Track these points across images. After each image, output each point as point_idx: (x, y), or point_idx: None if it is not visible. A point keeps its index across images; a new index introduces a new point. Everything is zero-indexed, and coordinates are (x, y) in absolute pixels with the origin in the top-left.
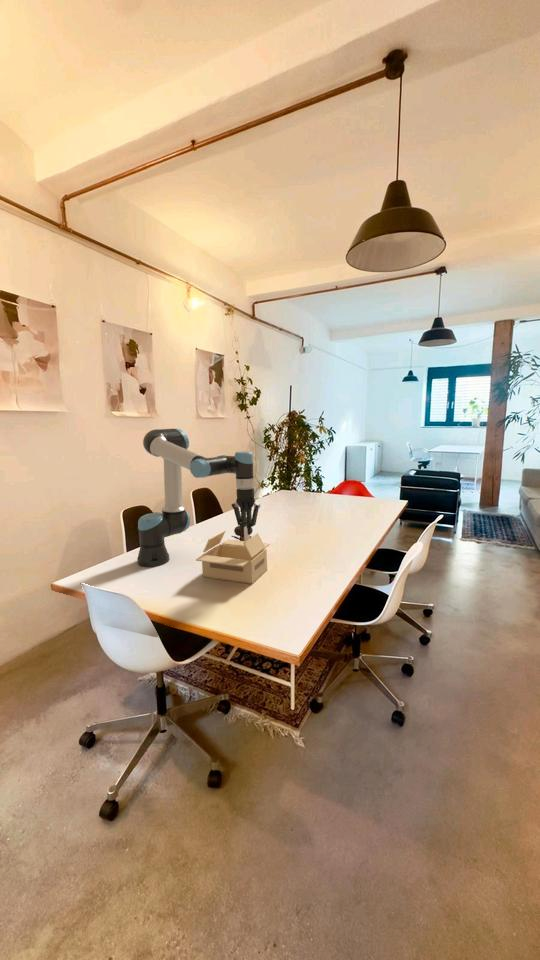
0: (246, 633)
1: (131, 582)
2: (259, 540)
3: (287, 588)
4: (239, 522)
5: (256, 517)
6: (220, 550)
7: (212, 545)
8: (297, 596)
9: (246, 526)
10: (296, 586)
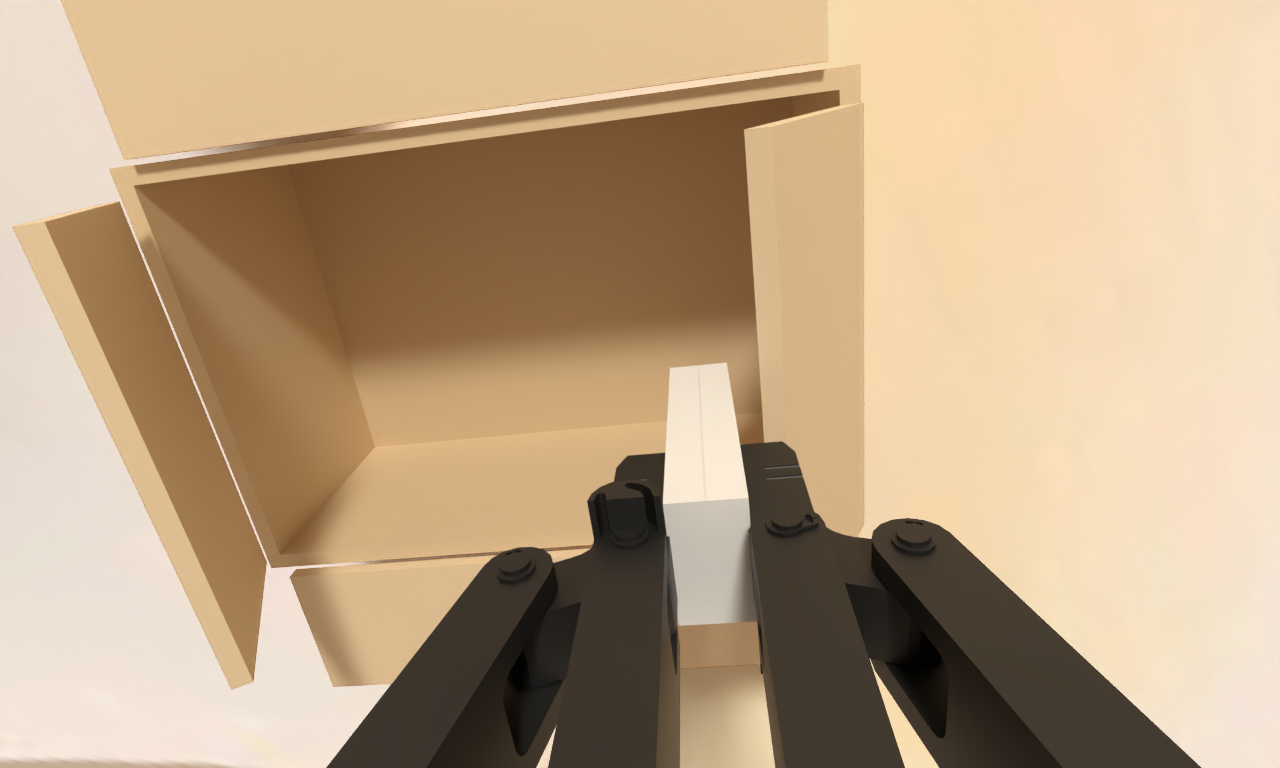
0: None
1: (59, 678)
2: (821, 192)
3: (1127, 363)
4: (552, 721)
5: (1121, 728)
6: (192, 179)
7: (205, 442)
8: (1237, 451)
9: (682, 535)
10: (1201, 298)
